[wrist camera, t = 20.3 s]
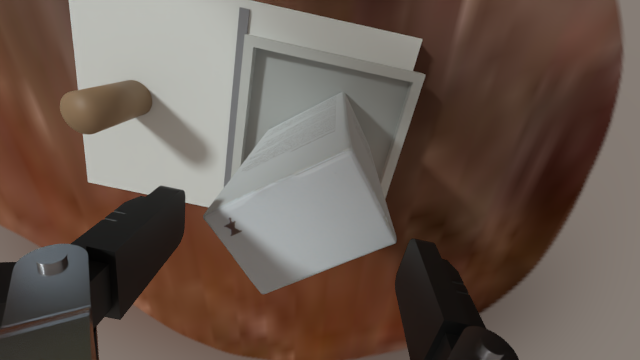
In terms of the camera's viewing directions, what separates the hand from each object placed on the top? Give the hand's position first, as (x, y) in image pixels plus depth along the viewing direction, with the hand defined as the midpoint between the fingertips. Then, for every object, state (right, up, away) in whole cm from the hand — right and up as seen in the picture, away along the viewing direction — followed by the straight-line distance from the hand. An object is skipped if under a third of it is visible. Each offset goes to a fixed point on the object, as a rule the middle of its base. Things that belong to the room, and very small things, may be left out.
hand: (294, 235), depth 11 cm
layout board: (-5, +7, +12) cm, 15 cm away
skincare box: (+1, +5, +11) cm, 12 cm away
